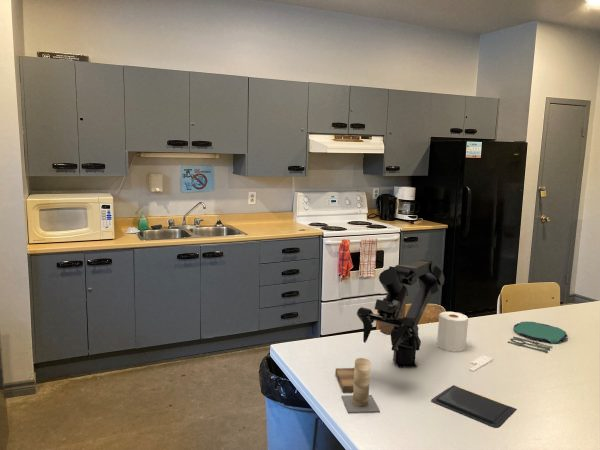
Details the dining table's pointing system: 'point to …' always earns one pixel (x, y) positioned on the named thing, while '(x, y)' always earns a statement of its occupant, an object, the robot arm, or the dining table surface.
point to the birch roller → (361, 382)
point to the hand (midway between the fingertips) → (378, 346)
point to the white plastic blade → (480, 362)
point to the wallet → (474, 406)
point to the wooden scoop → (388, 328)
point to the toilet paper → (452, 331)
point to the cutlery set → (538, 334)
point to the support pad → (352, 408)
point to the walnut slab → (345, 378)
